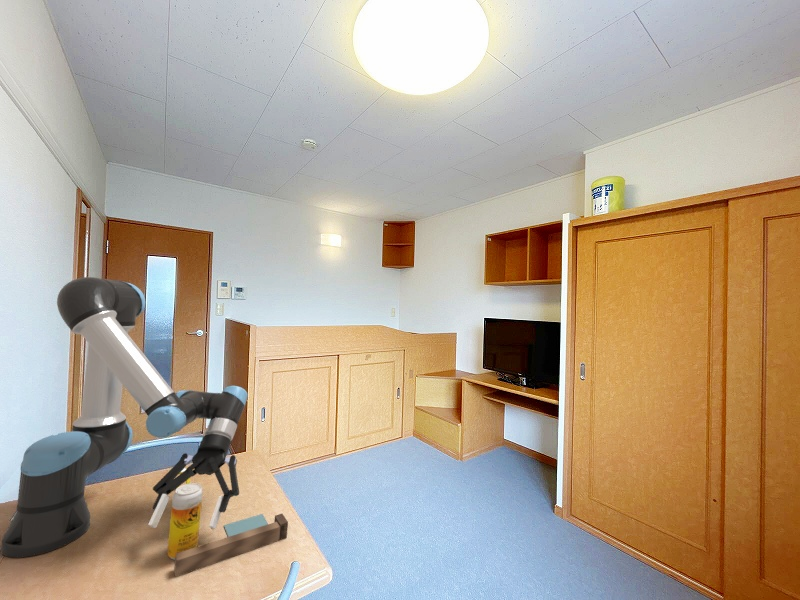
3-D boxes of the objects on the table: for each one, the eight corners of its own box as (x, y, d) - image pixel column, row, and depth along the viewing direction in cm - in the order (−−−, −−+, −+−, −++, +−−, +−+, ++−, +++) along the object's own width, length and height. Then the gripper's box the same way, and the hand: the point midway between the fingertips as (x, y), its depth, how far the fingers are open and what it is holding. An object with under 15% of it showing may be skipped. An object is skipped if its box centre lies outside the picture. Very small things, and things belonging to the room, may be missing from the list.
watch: (190, 488, 109) (193, 469, 109) (183, 492, 106) (187, 473, 106) (173, 484, 110) (176, 466, 110) (166, 488, 107) (170, 470, 107)
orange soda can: (179, 565, 77) (185, 497, 77) (160, 556, 79) (167, 491, 79) (202, 548, 82) (208, 485, 83) (185, 540, 84) (191, 480, 85)
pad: (231, 545, 84) (231, 544, 84) (223, 526, 91) (224, 525, 91) (271, 532, 90) (272, 530, 90) (262, 514, 97) (262, 513, 97)
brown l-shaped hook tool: (175, 577, 73) (176, 558, 73) (173, 564, 77) (175, 546, 77) (286, 537, 88) (288, 522, 88) (281, 528, 92) (282, 513, 92)
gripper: (265, 446, 98) (240, 532, 82) (176, 442, 96) (133, 530, 81) (260, 434, 93) (233, 523, 77) (166, 430, 91) (119, 521, 76)
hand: (182, 527), depth 79 cm, fingers open, 13 cm apart
